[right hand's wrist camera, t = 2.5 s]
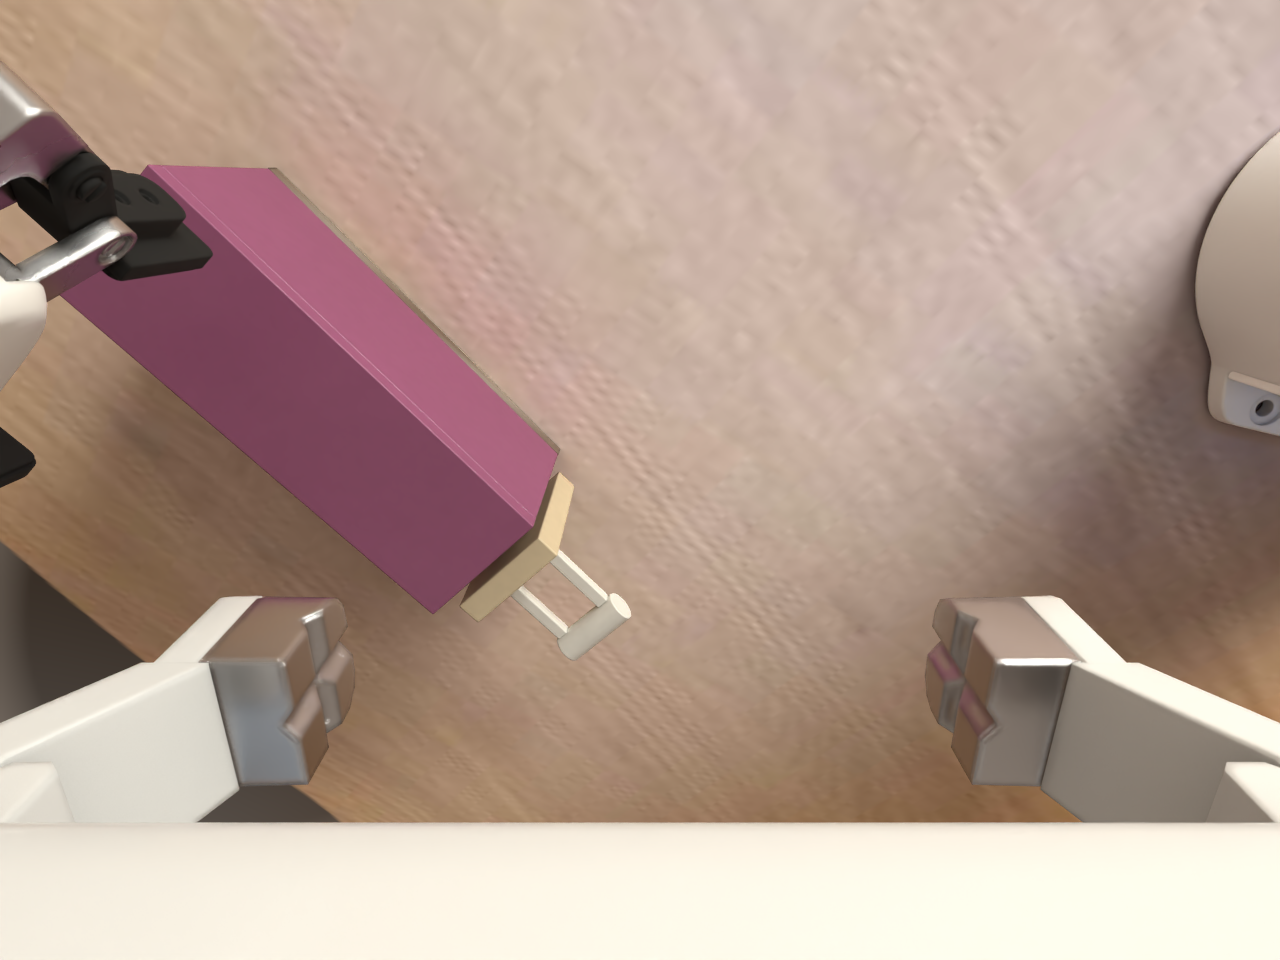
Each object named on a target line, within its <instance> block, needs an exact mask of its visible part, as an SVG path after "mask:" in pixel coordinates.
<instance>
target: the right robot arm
mask: <svg viewBox="0 0 1280 960" xmlns="http://www.w3.org/2000/svg"><path fill="white" fill-rule="evenodd" d="M1195 299H1196V309H1197V314H1198V319H1199V323H1200V327H1201V329H1202V332H1203V335H1204V338H1205V341H1206V343H1207V346H1208V349H1209V353H1210V358H1211V370H1210V377H1209V386H1208V408H1209V412H1210V414H1211V415H1212V417H1213V418H1215V419H1216V420H1218V421H1220V422H1223V423H1227V424H1231V425H1235V426H1239V427H1243V428H1247V429H1251V430H1256V431H1260V432H1264V433H1268V434H1272V435H1276V436H1280V131H1279V132H1278V133H1277V134H1276V135H1275V136H1273V137H1272V138H1271V139H1270V140H1269V141H1268V142H1267V143H1266V144H1265V145H1264V146H1263V147H1262V148H1261V149H1260V150H1259V151H1258V152H1257V153H1256V154H1255V155H1254V156H1253V157H1252V158H1251V159H1250V160H1249V162H1248V163H1247V164H1246V165H1245V166H1244V168H1243V169H1242V170H1241V171H1240V173H1239V174H1238V175H1237V177H1236V178H1235V179H1234V181H1233V182H1232V184H1231V185H1230V187H1229V188H1228V190H1227V191H1226V193H1225V194H1224V196H1223V198H1222V200H1221V201H1220V203H1219V205H1218V207H1217V209H1216V211H1215V213H1214V215H1213V217H1212V219H1211V221H1210V224H1209V226H1208V228H1207V231H1206V234H1205V237H1204V240H1203V243H1202V246H1201V250H1200V254H1199V259H1198V263H1197V271H1196V281H1195ZM1262 401H1263V404H1262V406H1261V408H1260V409H1259V410H1258V411H1256V407H1257V405H1258V404H1259V403H1260V402H1262ZM347 627H348V625H347V620H346V616H345V611H344V606H343V604H342V603H341V602H340V601H339V600H338V599H337V598H318V597H262V596H231V597H223V598H219V599H218V600H217V601H216V602H215V603H214V604H213V605H212V606H211V607H210V608H209V609H208V610H207V611H206V612H205V613H204V614H203V615H202V616H201V617H200V618H199V619H198V620H197V621H196V622H195V623H194V624H193V625H192V626H191V627H190V628H189V629H188V630H187V631H186V632H184V633H183V634H182V635H181V636H180V637H179V638H178V639H177V640H176V641H175V642H174V643H173V644H172V645H171V646H170V647H169V648H168V649H167V650H166V651H165V652H164V653H163V654H162V655H161V656H160V657H159V658H158V659H157V660H156V661H155V662H154V663H139V664H137V665H135V666H132V667H130V668H128V669H125V670H123V671H121V672H119V673H116V674H114V675H111V676H109V677H107V678H104V679H102V680H100V681H97V682H95V683H93V684H90V685H88V686H86V687H83V688H81V689H79V690H76V691H74V692H72V693H69V694H67V695H65V696H62V697H60V698H58V699H55V700H53V701H51V702H48V703H46V704H44V705H41V706H39V707H37V708H34V709H32V710H30V711H27V712H25V713H23V714H20V715H18V716H16V717H13V718H11V719H9V720H6V721H4V722H2V723H0V960H1280V723H1278V722H1276V721H1273V720H1271V719H1269V718H1266V717H1264V716H1262V715H1259V714H1257V713H1255V712H1252V711H1250V710H1248V709H1245V708H1243V707H1241V706H1238V705H1236V704H1234V703H1231V702H1229V701H1227V700H1224V699H1222V698H1220V697H1217V696H1215V695H1213V694H1210V693H1208V692H1206V691H1203V690H1201V689H1199V688H1196V687H1194V686H1192V685H1189V684H1187V683H1185V682H1182V681H1180V680H1178V679H1175V678H1173V677H1171V676H1168V675H1166V674H1164V673H1161V672H1159V671H1157V670H1155V669H1152V668H1150V667H1148V666H1145V665H1143V664H1141V663H1126V662H1125V661H1124V660H1123V659H1122V658H1121V657H1120V656H1119V655H1118V654H1117V653H1116V652H1115V651H1114V650H1113V649H1112V648H1111V647H1110V646H1109V645H1108V644H1107V643H1106V642H1105V641H1104V640H1103V639H1102V638H1101V637H1100V636H1099V635H1098V634H1097V633H1096V632H1095V631H1094V630H1093V629H1092V628H1091V627H1089V626H1088V625H1087V624H1086V623H1085V622H1084V621H1083V620H1082V619H1081V618H1080V617H1079V616H1078V615H1077V614H1076V613H1075V612H1074V611H1073V610H1072V609H1071V608H1070V607H1069V606H1068V605H1067V604H1066V603H1065V602H1064V601H1063V600H1062V599H1060V598H1057V597H1054V596H1029V597H986V598H948V599H940V601H939V603H938V605H937V607H936V610H935V614H934V620H933V625H932V627H933V628H934V630H935V631H936V633H937V635H938V636H939V638H940V639H941V641H940V642H939V643H938V644H937V645H936V646H935V647H934V648H933V649H932V650H931V652H930V653H929V654H928V655H927V663H926V671H925V682H926V694H927V698H928V702H929V705H930V708H931V711H932V713H933V715H934V717H935V719H936V721H937V722H938V724H940V725H941V726H943V727H944V728H946V729H947V730H949V731H951V732H952V733H953V739H952V745H951V748H952V750H953V751H954V753H955V755H956V757H957V759H958V760H959V762H960V764H961V766H962V767H963V769H964V771H965V773H966V775H967V776H968V778H969V780H970V782H971V783H972V785H1008V786H1041V790H1042V791H1043V792H1044V793H1046V794H1047V795H1048V796H1050V797H1051V798H1052V799H1054V800H1055V801H1056V802H1057V803H1059V804H1060V805H1061V806H1063V807H1064V808H1065V809H1067V810H1068V811H1069V812H1070V813H1072V814H1073V815H1074V816H1076V817H1077V818H1078V819H1080V820H1081V821H1082V822H1083V823H197V822H198V821H199V820H201V819H202V818H203V817H205V816H206V815H207V814H208V813H210V812H211V811H212V810H214V809H215V808H216V807H218V806H219V805H220V804H222V803H223V802H224V801H225V800H227V799H228V798H229V797H231V796H232V795H233V794H235V793H236V792H237V791H238V790H239V786H270V785H306V784H309V782H310V780H311V778H312V776H313V775H314V773H315V771H316V769H317V768H318V766H319V764H320V762H321V760H322V759H323V757H324V755H325V753H326V751H327V750H328V748H329V745H328V739H327V733H328V732H329V731H331V730H333V729H334V728H336V727H337V726H339V725H340V724H342V722H343V721H344V719H345V717H346V715H347V713H348V711H349V709H350V705H351V701H352V697H353V692H354V688H355V669H354V662H353V655H352V654H351V653H350V652H349V650H348V649H347V648H346V647H345V646H344V645H343V644H342V643H341V642H340V641H339V639H340V638H341V636H342V635H343V633H344V631H345V630H346V628H347Z"/></svg>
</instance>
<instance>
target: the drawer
mask: <svg viewBox="0 0 1280 960" xmlns="http://www.w3.org/2000/svg"><path fill="white" fill-rule="evenodd" d="M573 490H574V486H573V485H572V484H571V483H570V482H569V481H568V480H567V479H566V478H565V477H564V476H563V475H562V474H561V473H560V472H559V473H557V474H556V475H555V476H554V477H553V478H552V479H550V480H549V481H548V484H547V487H546V490H545V493H544V496H543V499H542V502H541V505H540V508H539V511H538V514H537V517H536V520H535V523H534V526H533V528H532V529H531V530H529V531H528V532H527V533H526V534H525V535H524V536H523V537H521V538H520V539H519V540H518V541H517V542H516V543H515V544H513V545H512V546H511V547H510V548H509V549H508V550H506V551H505V552H504V553H503V554H502V555H501V556H500V557H498V558H497V559H496V560H495V561H494V562H493V563H492V564H490V565H489V566H488V567H487V568H486V569H485V570H483V571H482V572H481V573H480V574H479V575H478V576H477V577H475V578H474V579H473V580H472V581H471V582H470V584H469V586H468V589H467V591H466V593H465V595H464V597H463V600H462V602H461V604H460V607H461V608H462V609H463V610H464V611H465V612H466V613H468V614H469V615H470V616H471V617H472V618H473V619H474V620H476V621H477V622H480V621H481V620H482V619H483V618H484V617H486V616H487V615H488V614H489V613H490V612H492V611H493V610H494V609H495V608H496V607H497V606H499V605H500V604H501V603H502V602H503V601H505V600H506V599H507V598H508V597H509V596H511V597H512V598H514V599H515V600H516V601H517V602H518V603H519V604H520V605H521V606H522V607H524V608H525V609H526V610H527V611H528V612H529V613H530V614H531V615H533V616H534V617H535V618H536V619H537V620H538V621H539V622H540V623H541V624H543V625H544V626H545V627H546V628H547V629H548V630H549V631H550V632H551V633H553V634H554V635H555V636H556V637H557V643H558V646H559V648H560V650H561V652H562V653H563V654H564V655H565V656H566V657H567V658H568V659H570V660H573V661H575V660H577V659H579V658H580V657H581V656H582V655H584V654H585V653H586V652H588V651H589V650H590V649H591V648H593V647H594V646H595V645H596V644H598V643H599V642H600V641H601V640H603V639H604V638H605V637H607V636H608V635H609V634H610V633H612V632H613V631H614V630H615V629H617V628H618V627H619V626H621V625H622V624H623V623H624V622H626V621H627V620H628V619H629V618H630V617H631V612H630V609H629V607H628V605H627V604H626V602H625V601H624V600H623V599H622V598H621V597H620V596H619V595H617V594H615V593H611V594H610V595H609V596H607V594H606V593H605V592H604V591H603V590H602V589H601V588H600V587H599V586H598V585H597V584H596V583H595V582H594V581H592V580H591V579H590V578H589V577H588V576H587V575H586V574H585V573H584V572H583V571H582V570H581V569H580V568H579V567H578V566H577V565H575V564H574V563H573V562H572V561H571V560H570V559H569V558H568V557H567V556H566V555H565V554H564V553H563V552H562V551H561V550H560V549H559V547H560V543H561V539H562V535H563V531H564V527H565V523H566V519H567V515H568V511H569V507H570V502H571V498H572V494H573ZM549 562H550V563H551V564H552V565H553V566H554V567H555V568H556V569H557V570H559V571H560V572H561V573H562V574H563V575H564V576H565V577H566V578H567V579H568V580H569V581H570V582H571V583H573V584H574V585H575V586H576V587H577V588H578V589H579V590H580V591H581V592H582V593H583V594H584V595H585V596H586V597H588V598H589V599H590V600H591V601H592V602H593V603H594V604H595V605H596V606H595V607H594V608H593V609H591V610H590V611H589V612H588V613H586V614H585V615H584V616H583V617H581V618H580V619H579V620H578V621H576V622H575V623H574V624H573V625H571V626H570V627H569V628H568V626H567V625H566V624H565V623H564V622H563V621H561V620H560V619H559V618H558V617H557V616H556V615H555V614H554V613H553V612H552V611H550V610H549V609H548V608H547V607H546V606H545V605H544V604H543V603H542V602H541V601H539V600H538V599H537V598H536V597H535V596H534V595H533V594H532V593H531V592H529V591H528V590H527V589H526V588H525V587H524V586H523V584H525V583H526V582H527V581H528V580H529V579H531V578H532V577H533V576H534V575H535V574H536V573H538V572H539V571H540V570H541V569H542V568H544V567H545V566H546V565H547V564H548V563H549Z"/></svg>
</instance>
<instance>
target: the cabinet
mask: <svg viewBox="0 0 1280 960" xmlns="http://www.w3.org/2000/svg"><path fill="white" fill-rule="evenodd" d="M140 175H141V176H144V177H146V178H148V179H150V180H151V181H153V182H154V183H156V184H157V185H159V186H160V187H161V188H162V189H164V190H165V191H166V192H167V193H168V194H169V195H170V196H171V197H172V198H173V199H174V200H175V201H176V202H177V203H178V204H179V205H180V206H181V207H182V208H183V210H184V211H185V213H186V218H185V220H184V221H183V223H184V224H185V225H186V226H187V227H188V228H189V229H190V230H191V231H192V232H193V233H195V234H196V235H197V236H198V237H199V238H200V239H201V240H202V241H203V242H204V243H205V244H206V245H207V246H208V247H209V248H210V249H211V251H212V252H213V256H212V257H211V258H210V260H209V261H208V262H207V263H206V264H205V265H204V267H203V268H201V269H195V270H191V271H184V272H178V273H172V274H165V275H159V276H152V277H146V278H140V279H133V280H127V281H117V280H115V279H112V278H111V277H109V276H107V275H106V274H105V273H104V272H103V271H100V272H98V273H96V274H94V275H93V276H91V277H89V278H88V279H86V280H84V281H82V282H81V283H79V284H77V285H76V286H74V287H72V288H71V289H69V290H67V291H65V292H64V293H62V294H60V296H61V297H63V298H64V299H65V300H66V301H67V302H68V303H70V304H71V305H72V306H73V307H74V308H75V309H77V310H78V311H79V312H80V313H81V314H82V315H84V316H85V317H86V318H87V319H88V320H89V321H91V322H92V323H93V324H94V325H95V326H96V327H98V328H99V329H100V330H101V331H102V332H103V333H105V334H106V335H107V336H108V337H109V338H110V339H112V340H113V341H114V342H115V343H116V344H117V345H119V346H120V347H121V348H122V349H123V350H124V351H126V352H127V353H128V354H129V355H130V356H132V357H133V358H134V359H135V360H136V361H137V362H139V363H140V364H141V365H142V366H143V367H144V368H146V369H147V370H148V371H149V372H150V373H151V374H153V375H154V376H155V377H156V378H157V379H158V380H160V381H161V382H162V383H163V384H164V385H165V386H167V387H168V388H169V389H170V390H171V391H172V392H174V393H175V394H176V395H177V396H178V397H179V398H181V399H182V400H183V401H184V402H185V403H186V404H188V405H189V406H190V407H191V408H192V409H193V410H195V411H196V412H197V413H198V414H199V415H200V416H202V417H203V418H204V419H205V420H206V421H207V422H209V423H210V424H211V425H212V426H213V427H215V428H216V429H217V430H218V431H219V432H220V433H222V434H223V435H224V436H225V437H226V438H227V439H229V440H230V441H231V442H232V443H233V444H234V445H236V446H237V447H238V448H239V449H240V450H241V451H243V452H244V453H245V454H246V455H247V456H248V457H250V458H251V459H252V460H253V461H254V462H255V463H257V464H258V465H259V466H260V467H261V468H262V469H264V470H265V471H266V472H267V473H268V474H269V475H271V476H272V477H273V478H274V479H275V480H276V481H278V482H279V483H280V484H281V485H282V486H283V487H285V488H286V489H287V490H288V491H289V492H291V493H292V494H293V495H294V496H295V497H296V498H298V499H299V500H300V501H301V502H302V503H303V504H305V505H306V506H307V507H308V508H309V509H310V510H312V511H313V512H314V513H315V514H316V515H317V516H319V517H320V518H321V519H322V520H323V521H324V522H326V523H327V524H328V525H329V526H330V527H331V528H333V529H334V530H335V531H336V532H337V533H338V534H340V535H341V536H342V537H343V538H344V539H345V540H347V541H348V542H349V543H350V544H351V545H352V546H354V547H355V548H356V549H357V550H358V551H359V552H361V553H362V554H363V555H364V556H365V557H366V558H368V559H369V560H370V561H371V562H372V563H374V564H375V565H376V566H377V567H378V568H379V569H381V570H382V571H383V572H384V573H385V574H386V575H388V576H389V577H390V578H391V579H392V580H393V581H395V582H396V583H397V584H398V585H399V586H400V587H402V588H403V589H404V590H405V591H406V592H407V593H409V594H410V595H411V596H412V597H413V598H414V599H416V600H417V601H418V602H419V603H420V604H421V605H423V606H424V607H425V608H426V609H427V610H428V611H430V612H431V613H432V614H434V613H435V612H436V611H438V610H439V609H440V608H441V607H442V606H443V605H444V604H446V603H447V602H448V601H449V600H450V599H451V598H452V597H454V596H455V595H456V594H457V593H458V592H459V591H461V590H462V589H463V588H464V587H465V586H466V585H467V584H469V583H470V582H471V581H472V580H473V579H474V578H475V577H477V576H478V575H479V574H480V573H481V572H482V571H483V570H485V569H486V568H487V567H488V566H489V565H490V564H492V563H493V562H494V561H495V560H496V559H497V558H498V557H500V556H501V555H502V554H503V553H504V552H505V551H506V550H508V549H509V548H510V547H511V546H512V545H513V544H515V543H516V542H517V541H518V540H519V539H520V538H521V537H523V536H524V535H525V534H526V533H527V532H528V531H529V530H531V529H532V528H533V526H534V523H535V520H536V517H537V514H538V511H539V508H540V505H541V502H542V499H543V496H544V493H545V490H546V487H547V484H548V481H549V478H550V476H551V473H552V470H553V467H554V464H555V461H556V458H557V455H558V454H559V451H560V449H559V448H558V447H557V446H556V445H555V444H554V443H553V442H552V441H551V440H550V439H549V438H548V437H547V436H546V435H545V434H544V433H543V432H542V431H541V430H540V429H539V428H538V427H537V426H536V425H535V424H534V423H533V422H532V421H531V420H530V419H529V418H528V417H527V416H526V415H525V414H524V413H523V412H522V411H521V410H520V409H519V408H518V407H517V406H516V405H515V404H514V403H513V402H512V401H511V400H510V399H509V398H508V397H507V396H506V395H505V394H504V393H503V392H502V391H501V390H500V389H499V388H498V387H497V386H496V385H495V384H494V383H493V382H492V381H491V380H490V379H489V378H488V377H487V376H486V375H485V374H484V373H483V372H482V371H481V370H480V369H479V368H478V367H477V366H476V365H475V364H474V363H473V362H472V361H471V360H470V359H469V358H468V357H467V356H466V355H465V354H464V353H463V352H462V351H461V350H460V349H459V348H458V347H457V346H456V345H455V344H454V343H453V342H452V341H450V340H449V339H448V338H447V337H446V336H445V335H444V334H443V333H442V332H441V331H440V330H439V329H438V328H437V327H436V326H435V325H434V324H433V323H432V322H431V321H430V320H429V319H428V318H427V317H426V316H425V315H424V314H423V313H422V312H421V311H420V310H419V309H418V308H417V307H416V306H415V305H414V304H413V303H412V302H411V301H410V300H409V299H408V298H407V297H406V296H405V295H404V294H403V293H402V292H401V291H400V290H399V289H398V288H397V287H396V286H395V285H394V284H393V283H392V282H391V281H390V280H389V279H388V278H387V277H386V276H385V275H384V274H383V273H382V272H381V271H380V270H379V269H378V268H377V267H376V266H375V265H374V264H373V263H372V262H371V261H370V260H369V259H368V258H367V257H366V256H365V255H364V254H363V253H362V252H361V251H360V250H359V249H358V248H357V247H356V246H355V245H354V244H353V243H352V242H351V241H350V240H349V239H348V238H347V237H346V236H345V235H344V234H343V233H342V232H341V231H340V230H339V229H338V228H337V227H336V226H334V225H333V224H332V223H331V222H330V221H329V220H328V219H327V218H326V217H325V216H324V215H323V214H322V213H321V212H320V211H319V210H318V209H317V208H316V207H315V206H314V205H313V204H312V203H311V202H310V201H309V200H308V199H307V198H306V197H305V196H304V195H303V194H302V193H301V192H300V191H299V190H298V189H297V188H296V187H295V186H294V185H293V184H292V183H291V182H290V181H289V180H288V179H287V178H286V177H285V176H284V175H283V174H282V173H281V172H280V171H279V170H278V169H277V168H268V169H261V168H230V167H199V166H167V165H162V166H161V165H147V167H146V168H145V169H144V171H143V172H142V173H141V174H140Z"/></svg>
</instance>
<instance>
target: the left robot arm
mask: <svg viewBox="0 0 1280 960" xmlns="http://www.w3.org/2000/svg"><path fill="white" fill-rule="evenodd" d="M16 202H17V203H18V205H19V207H20V208H21V209H22V210H23V211H24V212H26V213H27V214H28V215H29V216H30V217H31V218H32V219H33V220H35V221H36V222H37V223H38V224H39V225H40V226H41V227H42V228H44V229H45V230H46V231H47V232H48V233H49V234H50V235H51V236H53V237H54V238H55V239H56V240H57V241H58V242H57V243H55V244H53V245H51V246H49V247H48V248H46V249H44V250H42V251H40V252H38V253H37V254H35V255H33V256H31V257H29V258H27V259H25V260H24V261H22V262H20V263H18V264H16V266H15V265H14V264H13V263H12V262H11V261H9V260H8V259H7V258H6V257H5V256H4V255H2V254H1V253H0V391H1V390H2V389H3V387H4V386H5V385H6V383H7V382H8V381H9V379H10V378H11V377H12V376H13V374H14V373H15V372H16V370H17V369H18V368H19V366H20V365H21V364H22V362H23V361H24V360H25V358H26V357H27V356H28V354H29V353H30V351H31V350H32V349H33V347H34V346H35V344H36V343H37V341H38V339H39V338H40V336H41V334H42V332H43V330H44V327H45V324H46V314H47V302H48V301H50V300H52V299H53V298H55V297H57V296H59V295H60V294H62V293H64V292H65V291H67V290H69V289H71V288H72V287H74V286H76V285H77V284H79V283H81V282H82V281H84V280H86V279H88V278H89V277H91V276H93V275H94V274H96V273H98V272H100V271H103V272H104V273H105V274H106V275H107V276H109V277H111V278H112V279H115V280H117V281H127V280H133V279H140V278H146V277H152V276H159V275H165V274H172V273H178V272H184V271H191V270H195V269H201V268H203V267H204V265H205V264H206V263H207V262H208V261H209V260H210V258H211V257H212V256H213V252H212V251H211V249H210V248H209V247H208V246H207V245H206V244H205V243H204V242H203V241H202V240H201V239H200V238H199V237H198V236H197V235H196V234H195V233H193V232H192V231H191V230H190V229H189V228H188V227H187V226H186V225H185V224H184V223H183V221H184V220H185V218H186V213H185V211H184V210H183V208H182V207H181V206H180V205H179V204H178V203H177V202H176V201H175V200H174V199H173V198H172V197H171V196H170V195H169V194H168V193H167V192H166V191H165V190H164V189H162V188H161V187H160V186H159V185H157V184H156V183H154V182H153V181H151V180H150V179H148V178H146V177H144V176H141V175H138V174H132V173H126V172H124V171H120V170H110V168H109V167H108V166H107V165H106V164H105V163H104V162H103V161H102V160H101V159H100V158H99V157H98V156H96V154H95V153H94V152H93V151H92V150H91V149H90V148H89V147H88V145H87V144H86V143H85V142H84V141H83V140H82V139H81V138H80V136H79V135H78V134H77V133H76V132H75V131H74V130H73V129H72V128H71V127H70V126H69V125H68V124H67V122H66V121H65V120H64V119H63V118H62V117H61V116H60V115H59V114H58V113H57V112H56V111H55V110H54V109H53V108H52V107H50V106H49V105H48V104H47V103H46V102H45V101H44V100H43V99H42V98H41V97H40V96H39V95H38V94H37V93H36V92H34V91H33V90H32V89H31V88H30V87H29V86H28V85H27V84H26V83H25V82H24V81H23V80H22V79H21V78H20V77H19V76H17V75H16V74H15V73H14V72H13V71H12V70H11V69H10V68H9V67H8V66H7V65H6V64H5V63H3V62H2V61H0V210H1V209H3V208H5V207H7V206H10V205H12V204H14V203H16ZM35 464H36V460H35V458H34V455H33V453H32V452H31V451H29V450H28V449H27V448H26V447H25V446H23V445H22V444H21V443H20V442H18V441H17V440H16V439H15V438H13V437H12V436H11V435H10V434H8V433H7V432H6V431H5V430H3V429H2V428H1V427H0V488H1V487H3V486H5V485H7V484H10V483H12V482H14V481H16V480H19V479H21V478H23V477H25V476H26V475H27V474H28V473H29V472H30V471H31V470H32V468H33V467H34V466H35Z"/></svg>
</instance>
